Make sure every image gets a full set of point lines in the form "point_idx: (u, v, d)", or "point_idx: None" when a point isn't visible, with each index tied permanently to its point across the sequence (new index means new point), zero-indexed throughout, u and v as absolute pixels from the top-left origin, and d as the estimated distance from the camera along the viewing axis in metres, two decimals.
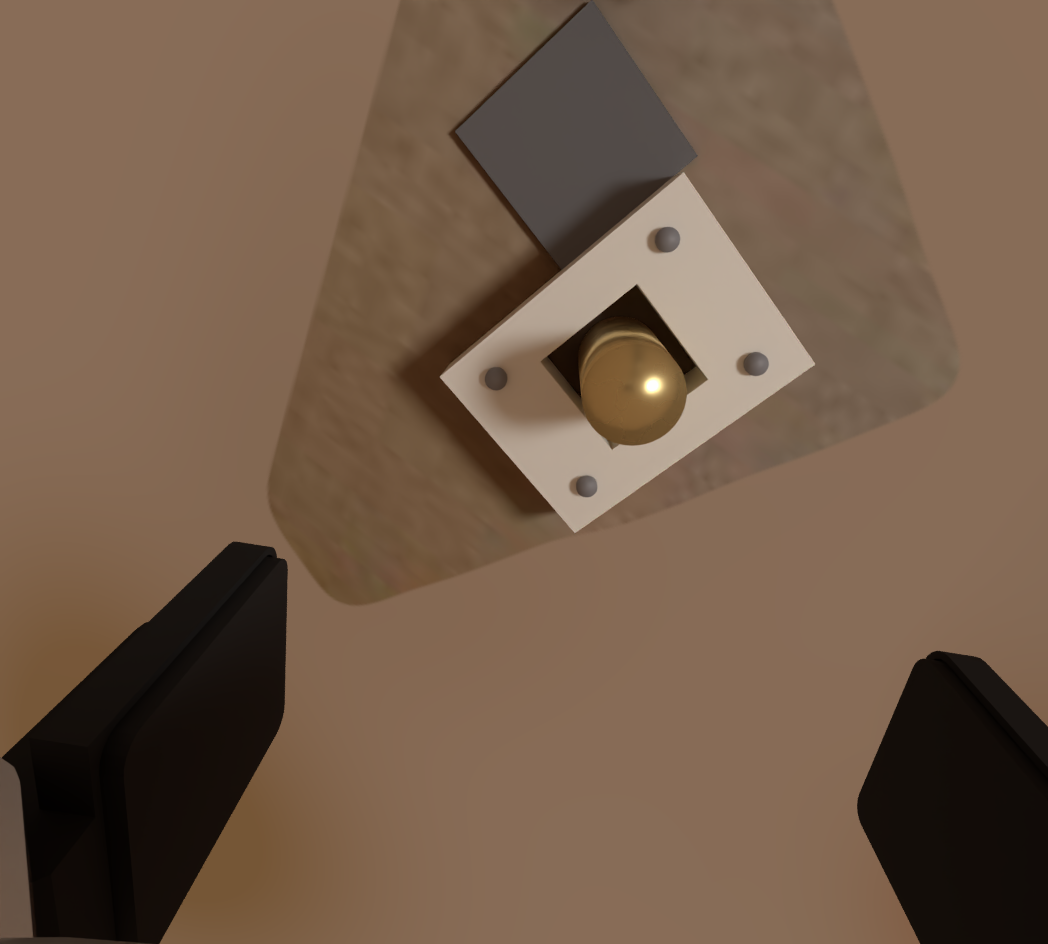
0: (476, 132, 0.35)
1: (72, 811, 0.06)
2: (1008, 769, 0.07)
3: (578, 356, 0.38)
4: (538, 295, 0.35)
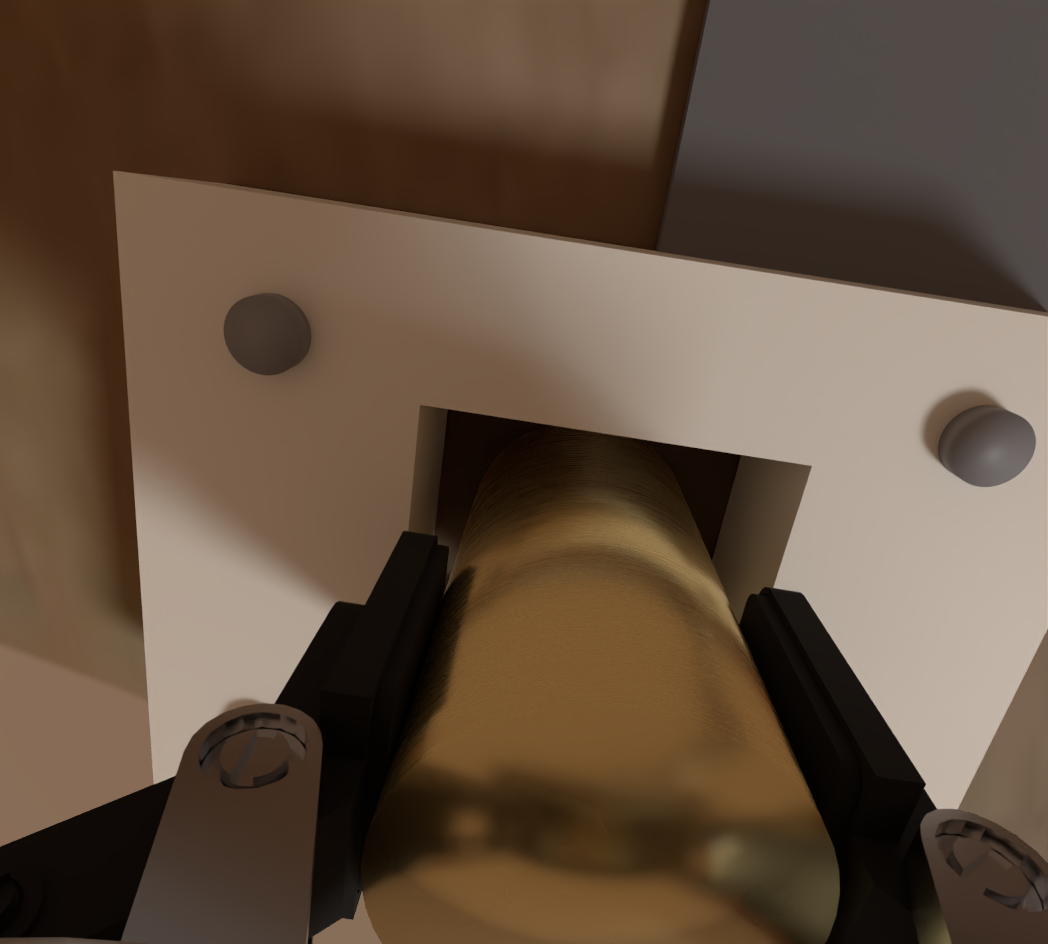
0: None
1: (348, 754, 0.07)
2: (790, 677, 0.08)
3: (511, 456, 0.14)
4: (579, 247, 0.10)
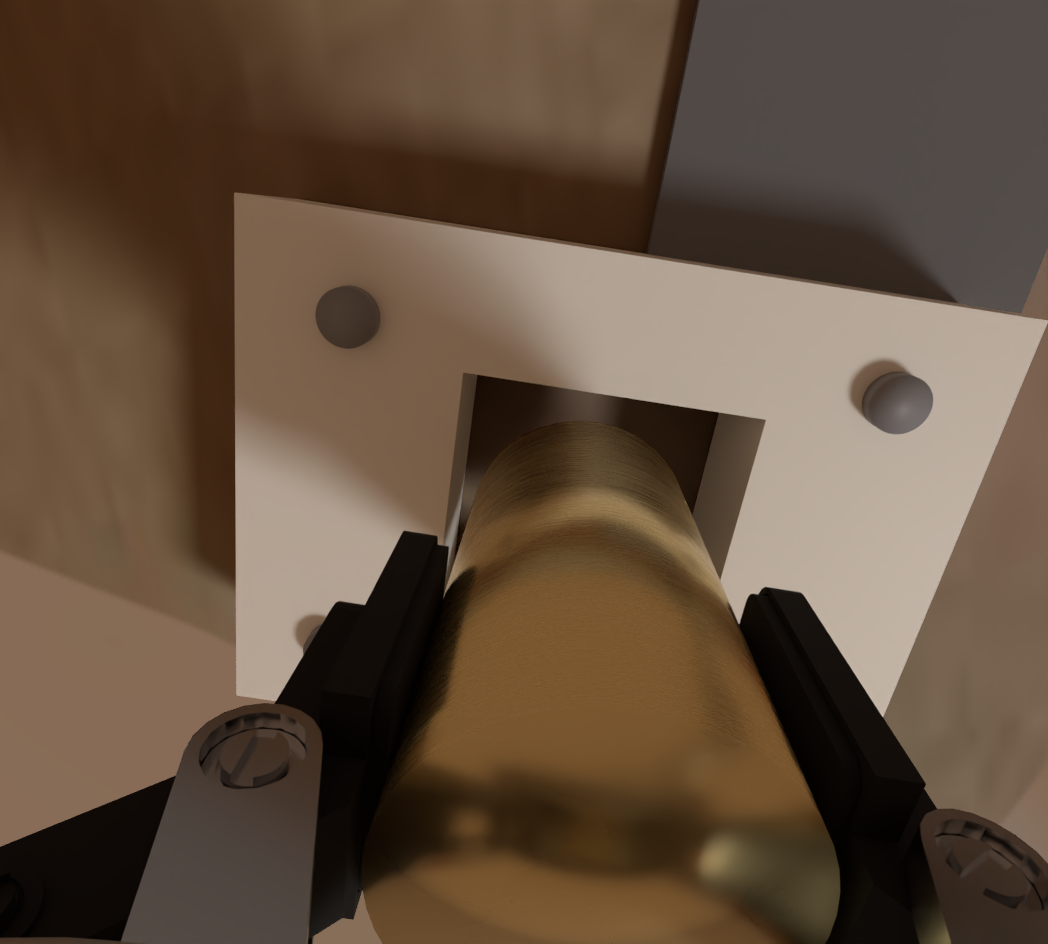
0: None
1: (348, 754, 0.07)
2: (790, 677, 0.08)
3: (511, 456, 0.14)
4: (587, 251, 0.13)
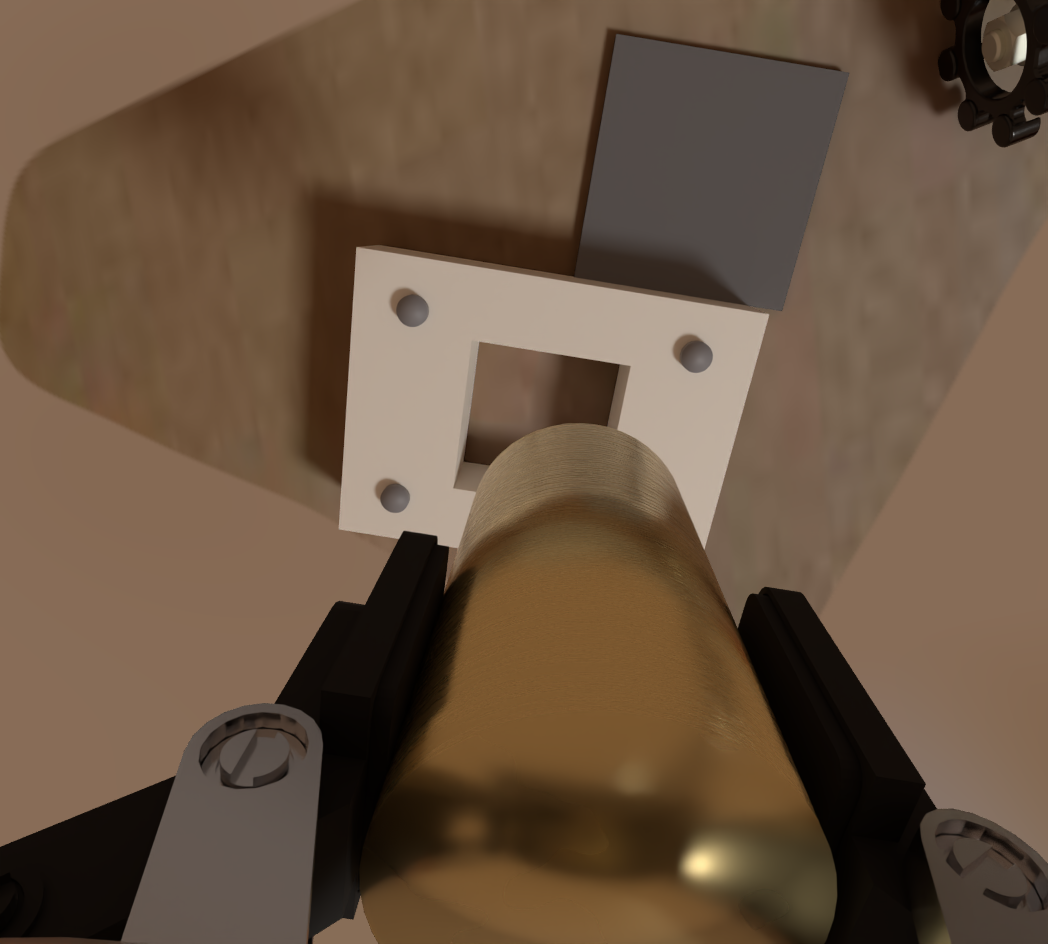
0: (634, 60, 0.26)
1: (348, 754, 0.07)
2: (790, 677, 0.08)
3: (510, 458, 0.14)
4: (535, 277, 0.26)
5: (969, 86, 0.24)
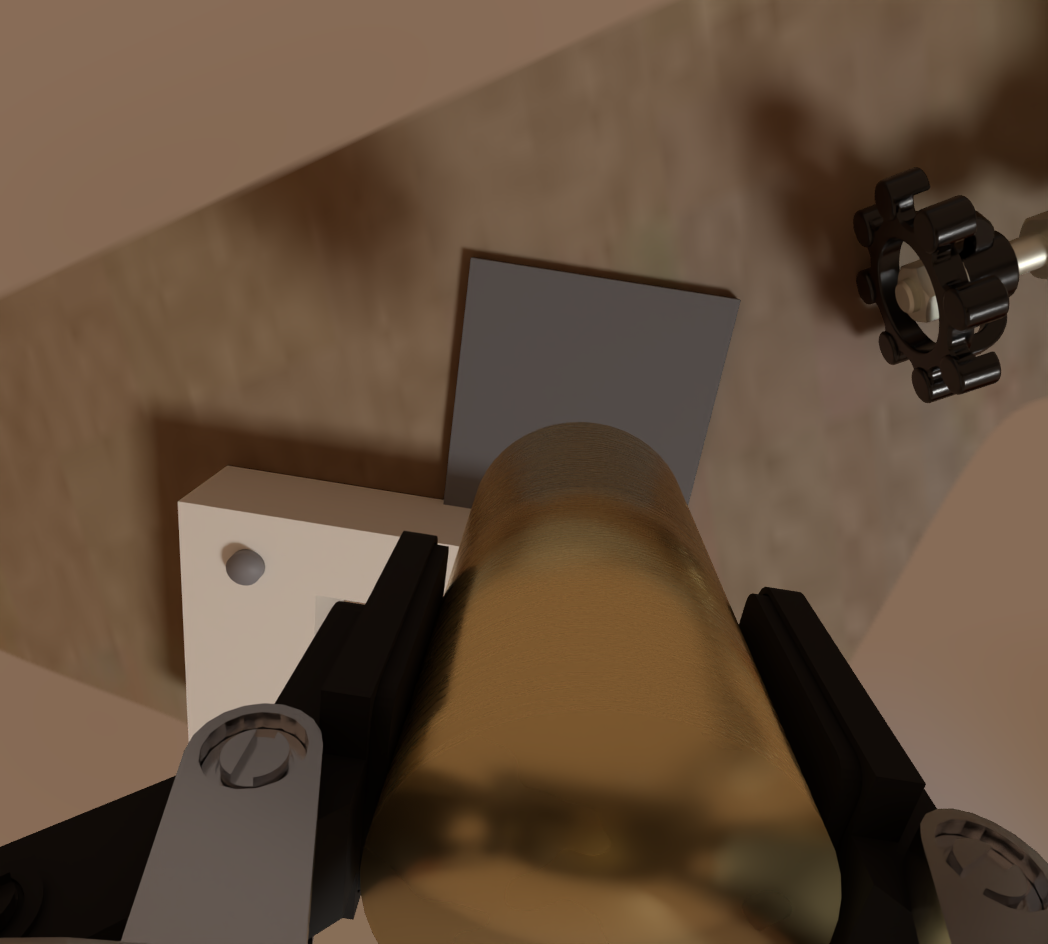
0: (493, 285, 0.22)
1: (348, 754, 0.07)
2: (790, 677, 0.08)
3: (511, 457, 0.14)
4: (380, 535, 0.22)
5: (887, 320, 0.21)
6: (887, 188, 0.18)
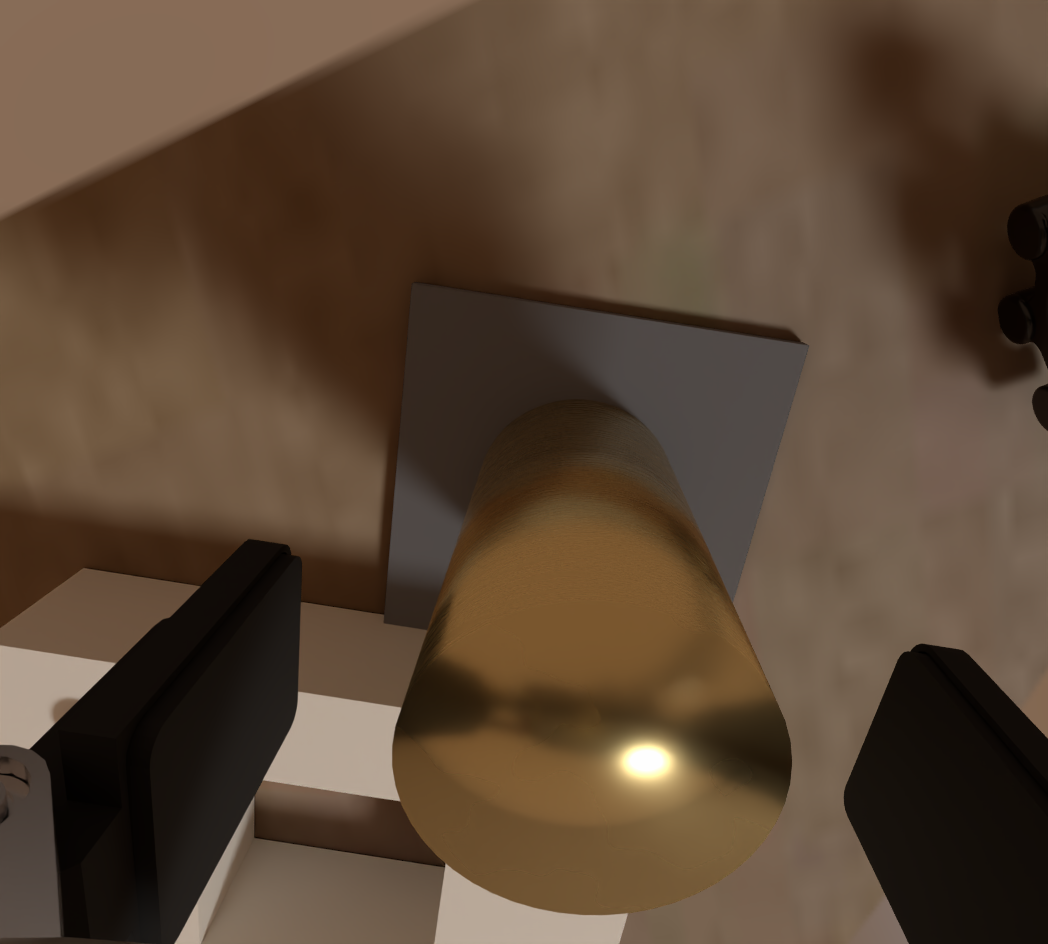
0: (445, 323, 0.15)
1: (99, 802, 0.06)
2: (987, 758, 0.08)
3: (514, 430, 0.15)
4: None
5: None
6: None
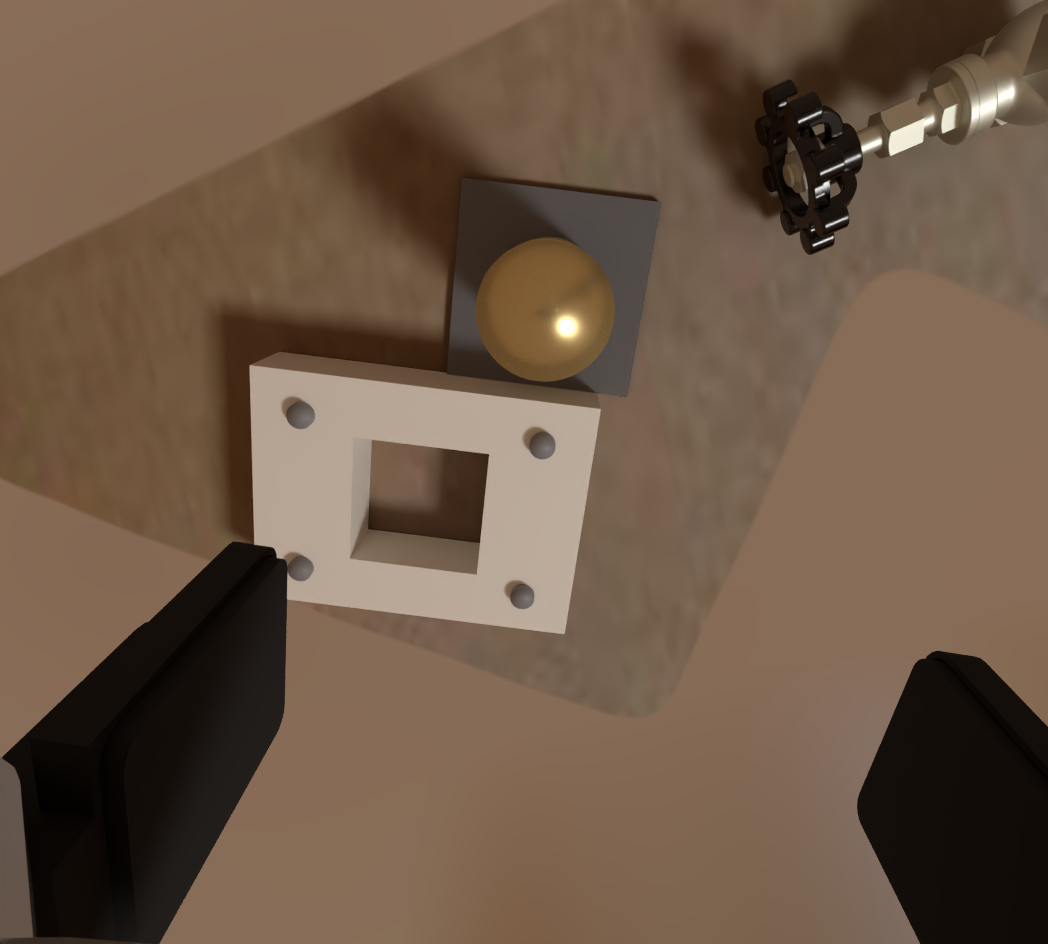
0: (478, 197, 0.30)
1: (72, 811, 0.06)
2: (1008, 769, 0.07)
3: None
4: (401, 385, 0.30)
5: (783, 200, 0.29)
6: (768, 94, 0.26)
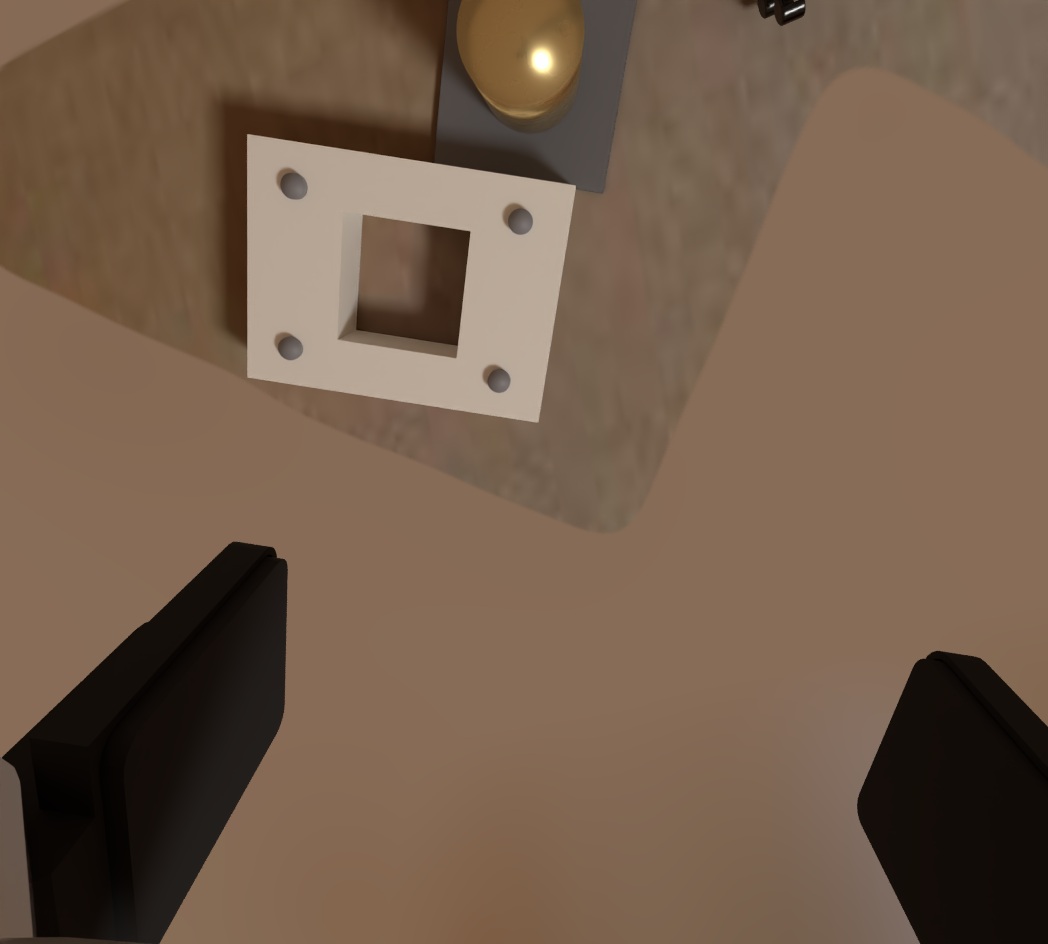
0: None
1: (72, 811, 0.06)
2: (1008, 769, 0.07)
3: None
4: (389, 157, 0.32)
5: None
6: None
